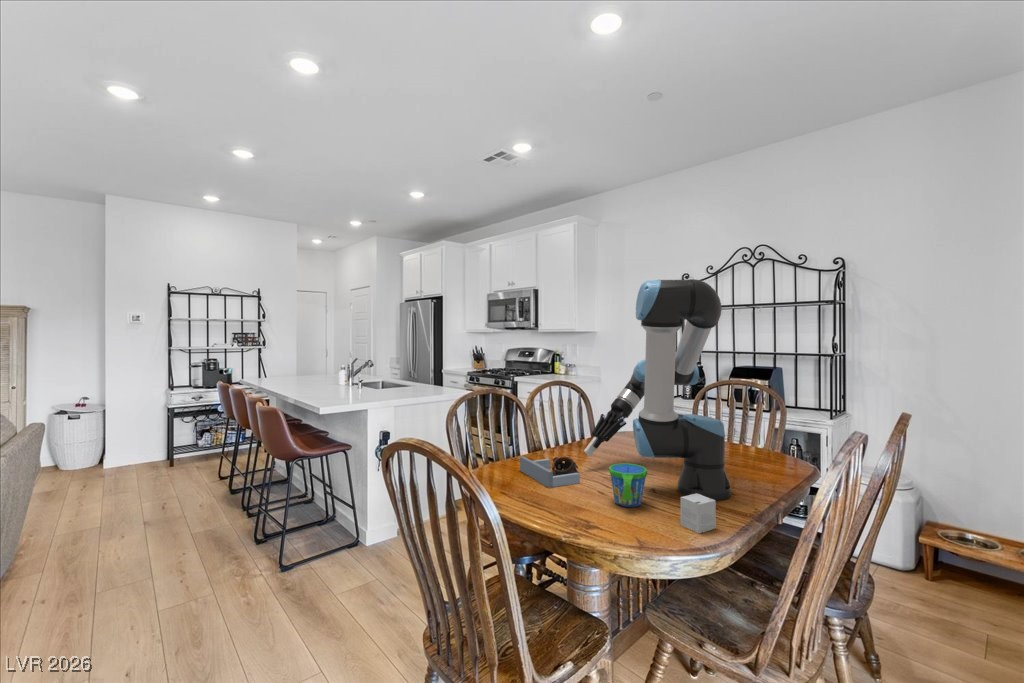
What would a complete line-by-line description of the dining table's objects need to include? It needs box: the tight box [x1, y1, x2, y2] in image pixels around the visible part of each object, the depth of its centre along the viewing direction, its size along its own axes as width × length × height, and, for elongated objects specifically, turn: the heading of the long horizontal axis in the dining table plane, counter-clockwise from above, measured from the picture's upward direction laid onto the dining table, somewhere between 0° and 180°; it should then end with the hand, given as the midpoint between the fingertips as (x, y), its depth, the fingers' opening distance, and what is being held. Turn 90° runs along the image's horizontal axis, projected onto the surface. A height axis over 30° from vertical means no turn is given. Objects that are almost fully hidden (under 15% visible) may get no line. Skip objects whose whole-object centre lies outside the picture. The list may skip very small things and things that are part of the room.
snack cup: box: [608, 462, 648, 508], centre depth 136 cm, size 16×10×10 cm
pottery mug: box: [551, 456, 580, 476], centre depth 162 cm, size 12×10×8 cm
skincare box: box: [679, 493, 717, 534], centre depth 120 cm, size 6×6×7 cm
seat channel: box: [519, 456, 581, 489], centre depth 163 cm, size 12×21×5 cm, turn 25°
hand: (587, 453), depth 169 cm, fingers closed
